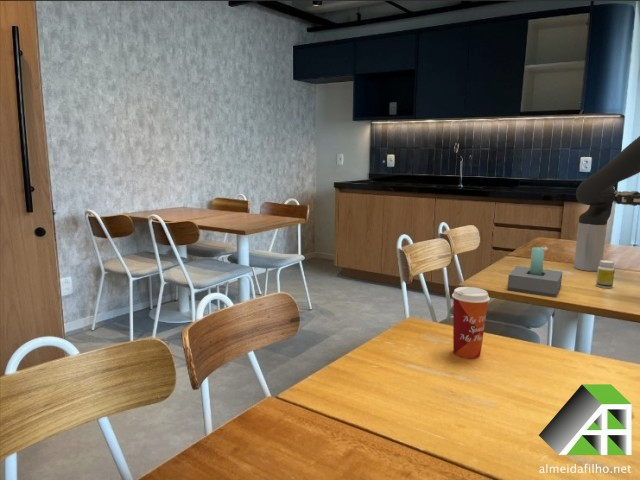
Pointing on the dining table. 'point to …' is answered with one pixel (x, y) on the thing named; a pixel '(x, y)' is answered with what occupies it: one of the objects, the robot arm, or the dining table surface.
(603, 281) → the supplement bottle
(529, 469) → the dining table surface
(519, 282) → the socket block
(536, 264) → the pin
